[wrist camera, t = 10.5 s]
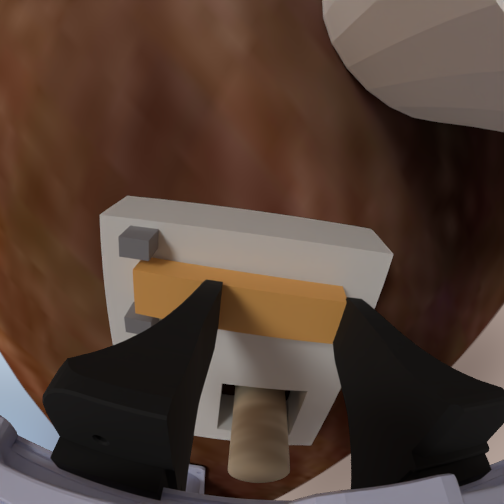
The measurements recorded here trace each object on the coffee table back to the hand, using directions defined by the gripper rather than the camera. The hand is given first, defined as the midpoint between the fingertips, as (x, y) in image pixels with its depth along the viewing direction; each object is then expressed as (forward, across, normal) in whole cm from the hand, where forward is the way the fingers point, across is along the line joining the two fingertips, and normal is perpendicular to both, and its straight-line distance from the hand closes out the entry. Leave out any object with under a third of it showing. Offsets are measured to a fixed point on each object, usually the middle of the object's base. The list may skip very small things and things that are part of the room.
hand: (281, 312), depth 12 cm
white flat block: (+4, +2, +5) cm, 7 cm away
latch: (+1, +2, 0) cm, 2 cm away
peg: (+4, 0, +8) cm, 9 cm away
